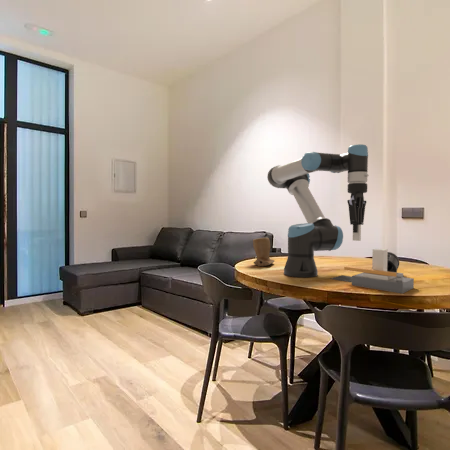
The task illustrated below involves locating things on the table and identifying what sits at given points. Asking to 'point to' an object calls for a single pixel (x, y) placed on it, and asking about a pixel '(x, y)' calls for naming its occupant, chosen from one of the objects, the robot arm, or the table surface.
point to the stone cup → (262, 251)
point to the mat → (343, 278)
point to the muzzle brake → (392, 262)
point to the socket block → (384, 283)
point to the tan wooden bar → (374, 271)
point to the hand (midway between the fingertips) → (356, 240)
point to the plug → (379, 264)
